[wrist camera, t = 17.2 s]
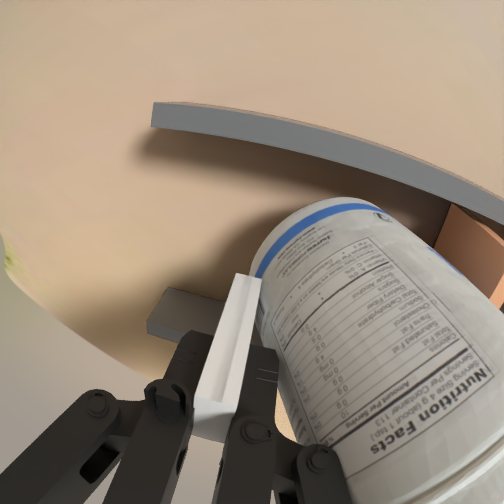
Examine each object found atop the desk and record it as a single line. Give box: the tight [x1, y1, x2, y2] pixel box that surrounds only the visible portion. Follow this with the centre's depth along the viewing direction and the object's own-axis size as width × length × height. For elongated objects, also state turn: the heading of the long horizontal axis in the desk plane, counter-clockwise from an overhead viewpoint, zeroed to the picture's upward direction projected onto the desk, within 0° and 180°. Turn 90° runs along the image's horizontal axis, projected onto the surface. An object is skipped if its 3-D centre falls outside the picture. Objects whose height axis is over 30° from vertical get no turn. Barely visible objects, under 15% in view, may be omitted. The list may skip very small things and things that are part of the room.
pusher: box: [433, 203, 504, 309], centre depth 14 cm, size 4×11×7 cm, turn 169°
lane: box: [147, 102, 504, 347], centre depth 15 cm, size 26×14×7 cm, turn 79°
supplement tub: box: [249, 197, 504, 504], centre depth 11 cm, size 10×10×15 cm
